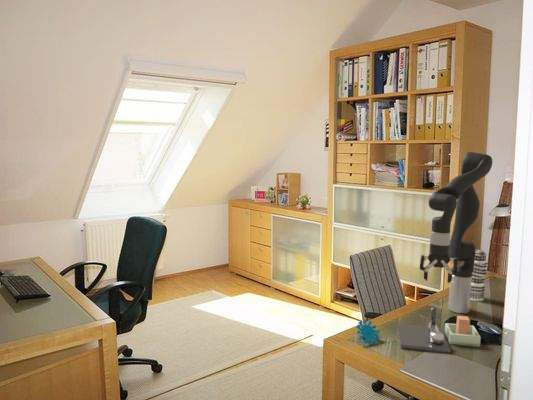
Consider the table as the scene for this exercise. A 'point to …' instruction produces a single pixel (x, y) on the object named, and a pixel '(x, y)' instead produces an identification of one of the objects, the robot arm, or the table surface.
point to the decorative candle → (478, 276)
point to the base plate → (419, 339)
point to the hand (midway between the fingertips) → (437, 281)
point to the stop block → (462, 325)
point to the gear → (368, 332)
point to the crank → (435, 329)
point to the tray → (462, 336)
